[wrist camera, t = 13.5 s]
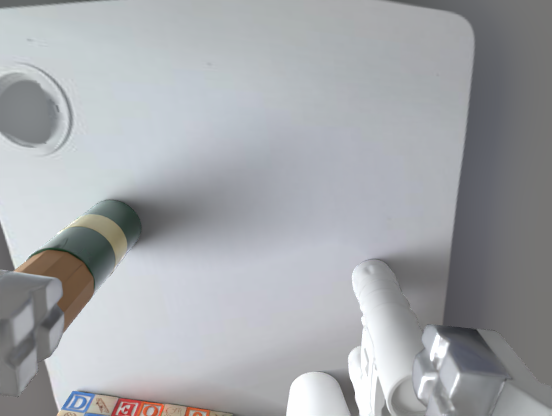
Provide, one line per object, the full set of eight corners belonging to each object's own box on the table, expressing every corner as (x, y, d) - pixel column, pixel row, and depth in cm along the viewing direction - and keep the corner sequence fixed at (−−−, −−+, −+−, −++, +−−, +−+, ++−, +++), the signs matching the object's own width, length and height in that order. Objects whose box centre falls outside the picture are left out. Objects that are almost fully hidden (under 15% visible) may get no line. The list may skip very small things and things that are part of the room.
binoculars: (349, 256, 46) (389, 370, 29) (397, 255, 46) (465, 369, 29) (343, 376, 52) (374, 529, 35) (386, 376, 52) (437, 529, 35)
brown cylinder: (22, 246, 33) (-32, 285, 27) (93, 255, 33) (54, 295, 27) (27, 306, 35) (-22, 353, 29) (94, 313, 35) (58, 362, 29)
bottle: (86, 195, 44) (-26, 273, 28) (142, 203, 44) (63, 284, 28) (87, 246, 46) (-16, 345, 30) (141, 253, 46) (67, 354, 30)
